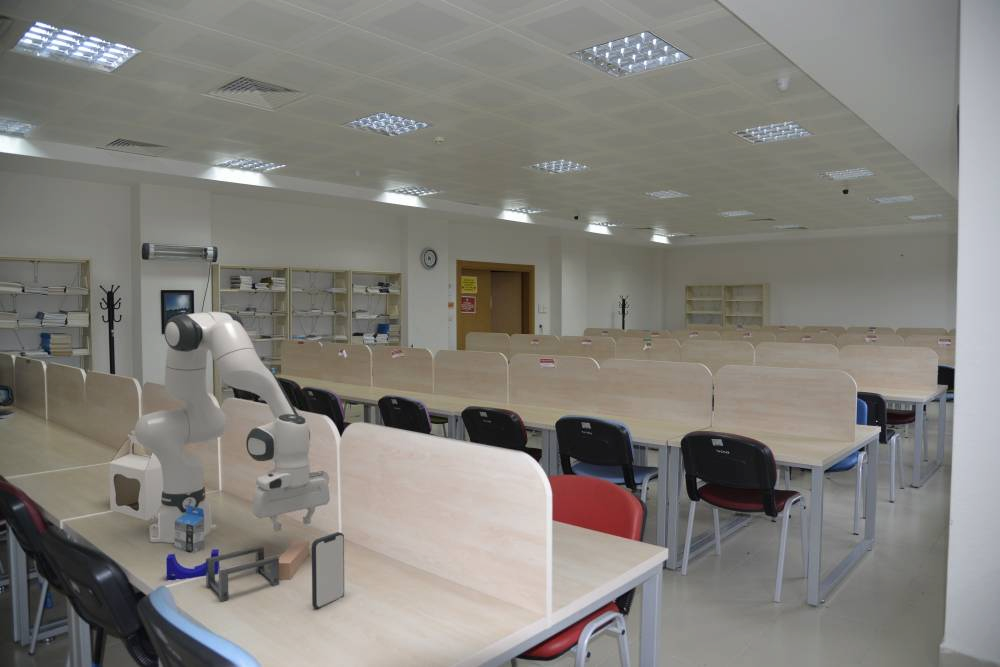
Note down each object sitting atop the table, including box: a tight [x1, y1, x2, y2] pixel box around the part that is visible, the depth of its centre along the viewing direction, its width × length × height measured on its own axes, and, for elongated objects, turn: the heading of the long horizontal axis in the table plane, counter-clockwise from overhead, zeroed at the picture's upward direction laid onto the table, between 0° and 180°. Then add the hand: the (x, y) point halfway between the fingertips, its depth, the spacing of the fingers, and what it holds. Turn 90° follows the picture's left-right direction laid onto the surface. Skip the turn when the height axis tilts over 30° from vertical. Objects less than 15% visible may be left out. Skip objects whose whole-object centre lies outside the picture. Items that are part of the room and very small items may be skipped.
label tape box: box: [173, 505, 205, 554], centre depth 186 cm, size 9×4×12 cm, turn 60°
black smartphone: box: [311, 531, 345, 609], centre depth 152 cm, size 9×2×16 cm, turn 144°
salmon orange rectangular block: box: [278, 540, 310, 581], centre depth 172 cm, size 16×4×5 cm, turn 0°
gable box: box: [108, 429, 163, 521], centre depth 220 cm, size 22×13×28 cm, turn 59°
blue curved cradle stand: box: [166, 548, 220, 581], centre depth 168 cm, size 12×4×6 cm, turn 108°
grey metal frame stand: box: [205, 545, 280, 603], centre depth 161 cm, size 12×14×7 cm
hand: (292, 526), depth 172 cm, fingers open, 7 cm apart
